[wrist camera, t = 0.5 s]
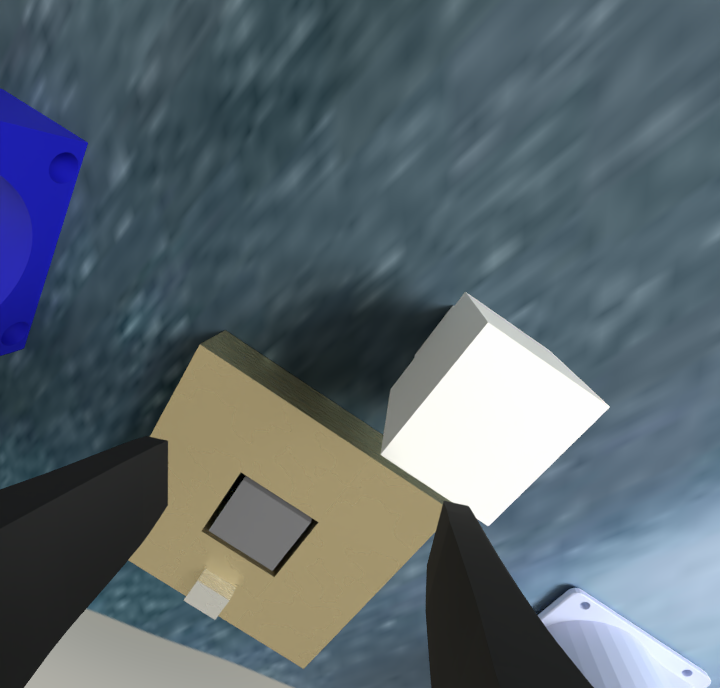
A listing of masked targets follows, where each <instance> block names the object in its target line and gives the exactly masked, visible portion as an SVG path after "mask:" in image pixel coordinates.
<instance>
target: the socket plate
mask: <svg viewBox="0 0 720 688" xmlns="http://www.w3.org/2000/svg"><path fill="white" fill-rule="evenodd" d="M150 437H153V438H158V439H163V440H167V441H168V506H167V507H166V509H165V511H164V512H163V514H162V515H161V517H160V518H159V520H158V521H157V523H156V524H155V526H154V527H153V529H152V530H151V532H150V533H149V535H148V536H147V537H146V539H145V540H144V542H143V543H142V544H141V545H140V546H139V548H138V549H137V550H136V551H135V552H134V554H133V555H132V556H131V557H130V558H129V561H130V562H132V563H134V564H135V565H137V566H138V567H140V568H142V569H143V570H145V571H146V572H148V573H150V574H151V575H153V576H155V577H156V578H158V579H159V580H161V581H163V582H164V583H166V584H167V585H169V586H171V587H172V588H174V589H176V590H177V591H179V592H180V593H182V594H184V595H185V596H186V597H185V599H184V601H185V602H187V603H189V604H190V605H192V606H194V607H195V608H197V609H198V610H200V611H202V612H203V613H205V614H206V615H208V616H210V617H211V618H213V619H216V618H217V616H219V617H221V618H222V619H224V620H226V621H227V622H229V623H230V624H232V625H234V626H235V627H237V628H239V629H240V630H242V631H243V632H245V633H247V634H248V635H250V636H251V637H253V638H255V639H256V640H258V641H260V642H261V643H263V644H264V645H266V646H268V647H269V648H271V649H272V650H274V651H276V652H277V653H279V654H280V655H282V656H284V657H285V658H287V659H289V660H290V661H292V662H293V663H295V664H297V665H298V666H300V667H301V668H303V669H304V668H305V667H306V666H307V665H308V664H309V663H310V662H311V661H312V660H313V659H314V657H315V656H316V655H317V654H318V653H319V652H320V651H321V650H322V649H323V648H324V647H325V646H326V645H327V644H328V643H329V642H330V641H331V640H332V639H333V638H334V637H335V636H336V635H337V634H338V633H339V631H340V630H341V629H342V628H343V627H344V626H345V625H346V624H347V623H348V622H349V621H350V620H351V619H352V618H353V617H354V616H355V615H356V614H357V613H358V612H359V611H360V610H361V609H362V608H363V606H364V605H365V604H366V603H367V602H368V601H369V600H370V599H371V598H372V597H373V596H374V595H375V594H376V593H377V592H378V591H379V590H380V589H381V588H382V587H383V586H384V585H385V584H386V583H387V582H388V580H389V579H390V578H391V577H392V576H393V575H394V574H395V573H396V572H397V571H398V570H399V569H400V568H401V567H402V566H403V565H404V564H405V563H406V562H407V561H408V560H409V559H410V558H411V557H412V555H413V554H414V553H415V552H416V551H417V550H418V549H419V548H420V547H421V546H422V545H423V544H424V543H425V542H426V541H427V540H428V539H429V538H430V537H431V536H432V535H433V534H434V533H435V532H436V529H437V525H438V521H439V517H440V513H441V509H442V505H443V502H444V501H448V502H451V501H450V500H448V499H446V498H445V497H443V496H442V495H440V494H439V493H437V492H436V491H434V490H433V489H431V488H430V487H428V486H427V485H425V484H424V483H422V482H421V481H419V480H418V479H416V478H415V477H413V476H412V475H410V474H409V473H407V472H406V471H404V470H403V469H401V468H400V467H398V466H397V465H395V464H394V463H392V462H391V461H389V460H388V459H386V458H385V457H383V456H382V455H380V454H381V448H382V441H383V435H382V434H381V433H379V432H378V431H376V430H375V429H373V428H372V427H370V426H369V425H367V424H366V423H364V422H363V421H361V420H360V419H358V418H357V417H355V416H354V415H352V414H351V413H349V412H348V411H346V410H345V409H343V408H342V407H340V406H339V405H337V404H336V403H334V402H333V401H331V400H329V399H328V398H326V397H325V396H323V395H322V394H320V393H319V392H317V391H316V390H314V389H313V388H311V387H310V386H308V385H307V384H305V383H304V382H302V381H301V380H299V379H298V378H296V377H295V376H293V375H292V374H290V373H289V372H287V371H286V370H284V369H283V368H281V367H280V366H278V365H277V364H275V363H274V362H272V361H271V360H269V359H268V358H266V357H265V356H263V355H262V354H260V353H259V352H257V351H256V350H254V349H253V348H251V347H250V346H248V345H247V344H245V343H244V342H242V341H241V340H239V339H238V338H236V337H235V336H233V335H232V334H230V333H229V332H227V331H226V330H225V331H223V332H221V333H219V334H218V335H216V336H214V337H212V338H210V339H208V340H207V341H205V342H203V343H201V344H200V345H199V347H198V349H197V350H196V352H195V354H194V356H193V358H192V360H191V362H190V363H189V365H188V367H187V369H186V371H185V373H184V374H183V376H182V378H181V380H180V382H179V384H178V386H177V387H176V389H175V391H174V393H173V395H172V397H171V399H170V400H169V402H168V404H167V406H166V408H165V410H164V411H163V413H162V415H161V417H160V419H159V421H158V423H157V424H156V426H155V428H154V430H153V432H152V434H151V436H150ZM241 473H243V474H244V475H246V476H247V477H249V478H251V479H252V480H254V481H255V482H257V483H258V484H260V485H261V486H263V487H265V488H266V489H268V490H269V491H271V492H272V493H274V494H275V495H277V496H279V497H280V498H282V499H283V500H285V501H286V502H288V503H289V504H291V505H292V506H294V507H296V508H297V509H299V510H300V511H302V512H303V513H305V514H306V515H308V516H310V517H311V518H312V520H311V523H310V524H309V526H308V527H307V528H306V529H305V531H304V532H303V533H302V534H301V536H300V537H299V538H298V539H297V541H296V542H295V543H294V544H293V546H292V547H291V548H290V549H289V551H288V552H287V553H286V554H285V556H284V557H283V558H282V559H281V561H280V562H279V563H278V564H277V566H276V567H275V568H274V569H273V571H272V570H270V569H268V568H267V567H265V566H264V565H262V564H261V563H259V562H257V561H256V560H254V559H253V558H251V557H249V556H248V555H246V554H245V553H243V552H242V551H240V550H238V549H237V548H235V547H234V546H232V545H230V544H229V543H227V542H226V541H224V540H223V539H221V538H219V537H218V536H216V535H215V534H213V533H211V532H210V531H209V529H210V528H211V526H212V525H213V523H214V522H215V520H216V519H217V517H218V516H219V514H220V513H221V511H222V510H223V509H224V507H225V506H226V504H227V502H226V501H224V500H223V499H224V498H225V496H226V495H227V493H228V492H229V490H230V489H231V487H232V486H233V484H234V483H235V481H236V480H237V478H238V477H239V476H240V474H241Z"/></svg>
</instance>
